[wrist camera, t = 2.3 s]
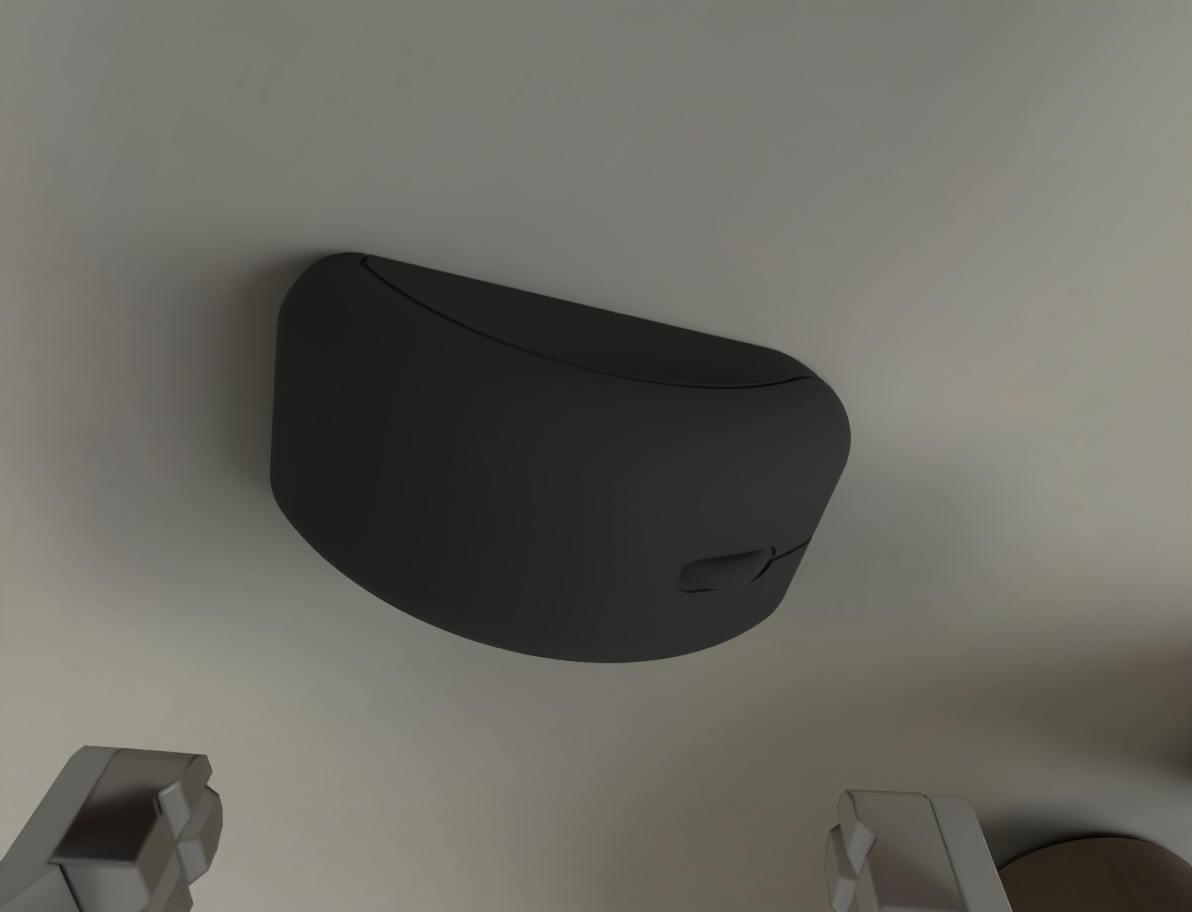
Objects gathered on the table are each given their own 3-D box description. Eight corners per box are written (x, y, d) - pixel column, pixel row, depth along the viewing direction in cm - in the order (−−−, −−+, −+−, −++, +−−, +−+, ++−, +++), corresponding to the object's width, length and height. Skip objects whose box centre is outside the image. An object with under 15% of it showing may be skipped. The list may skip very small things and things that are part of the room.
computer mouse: (759, 602, 21) (784, 737, 18) (277, 502, 20) (206, 628, 17) (863, 369, 18) (919, 482, 14) (292, 235, 17) (206, 323, 13)
